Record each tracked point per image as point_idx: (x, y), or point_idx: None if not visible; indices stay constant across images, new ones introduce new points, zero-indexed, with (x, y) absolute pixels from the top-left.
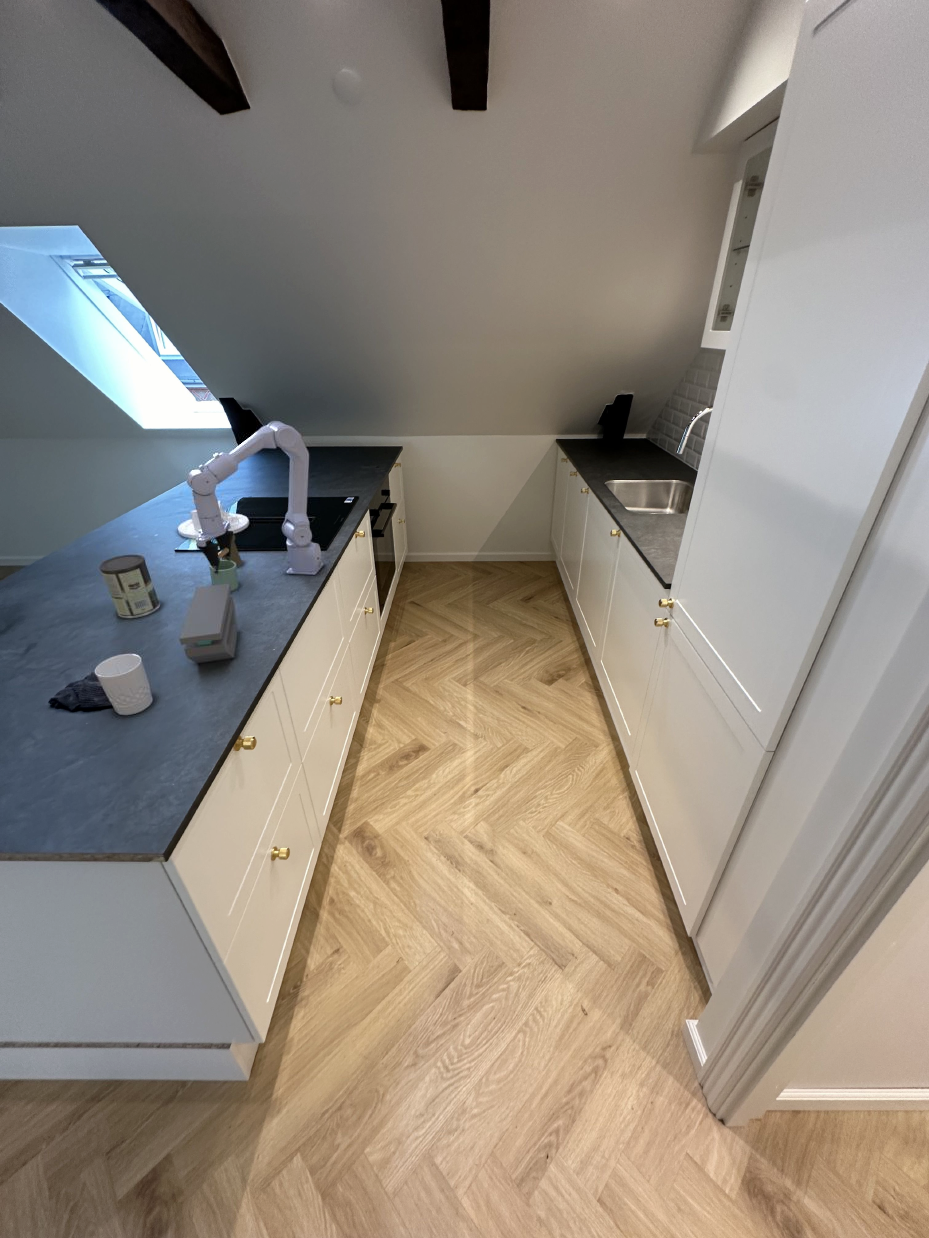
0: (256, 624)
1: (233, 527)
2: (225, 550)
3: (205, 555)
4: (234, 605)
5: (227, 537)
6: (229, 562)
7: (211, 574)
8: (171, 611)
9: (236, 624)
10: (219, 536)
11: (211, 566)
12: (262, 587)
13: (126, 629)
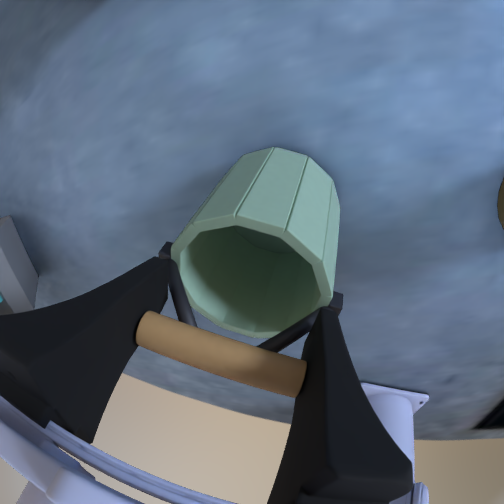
0: None
1: None
2: (253, 386)
3: (86, 296)
4: (33, 308)
5: (275, 486)
6: (313, 305)
7: (205, 202)
8: (86, 54)
9: (36, 285)
10: (297, 474)
11: (209, 229)
12: None
13: (17, 2)
